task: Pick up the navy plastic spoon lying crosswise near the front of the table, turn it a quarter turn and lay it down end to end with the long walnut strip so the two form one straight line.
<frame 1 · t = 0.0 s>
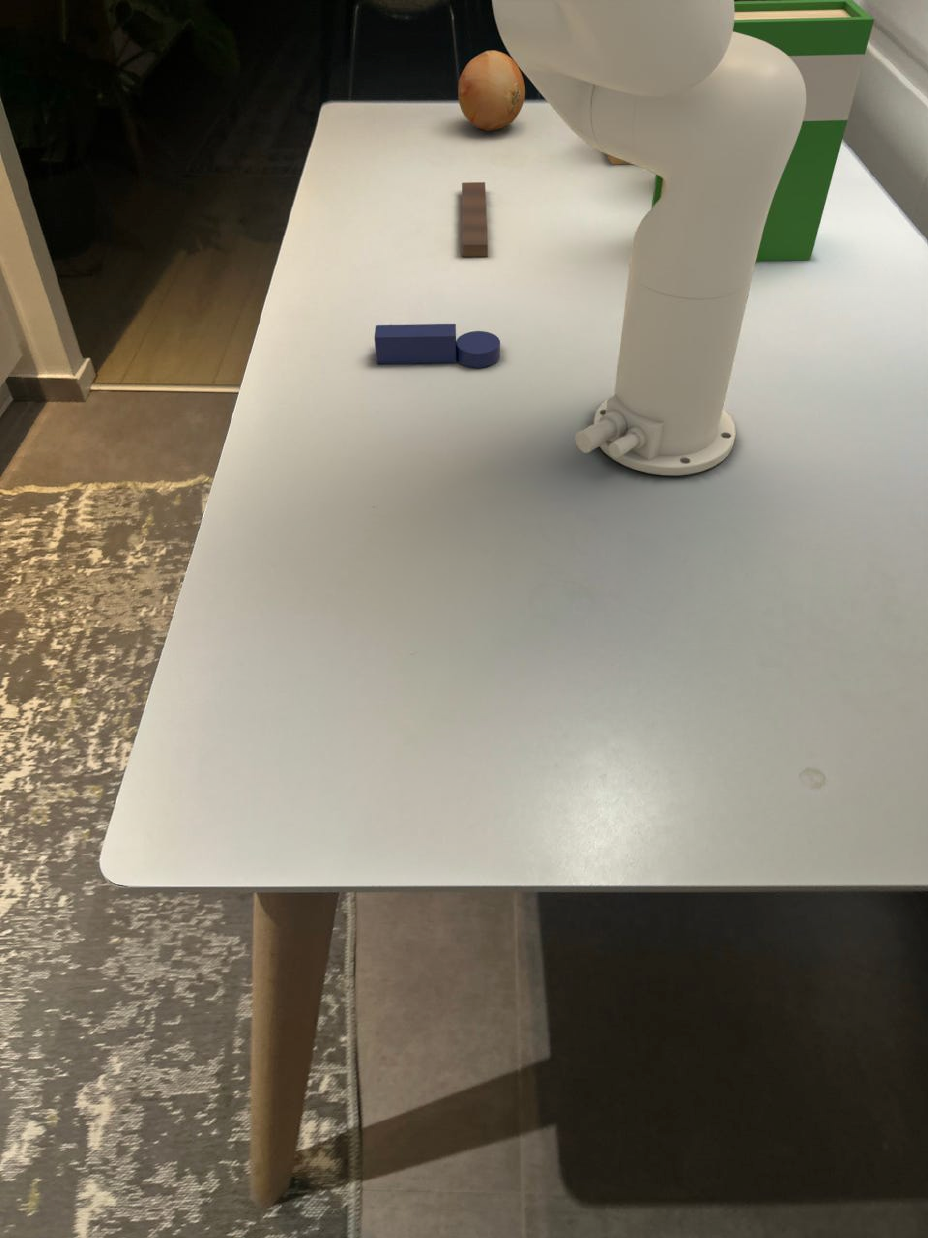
spoon: (436, 356, 93), on the table
walnut strip: (474, 223, 114), on the table
hardback book: (726, 248, 109), on the table
sandwich container: (631, 144, 132), on the table
onion: (491, 129, 137), on the table
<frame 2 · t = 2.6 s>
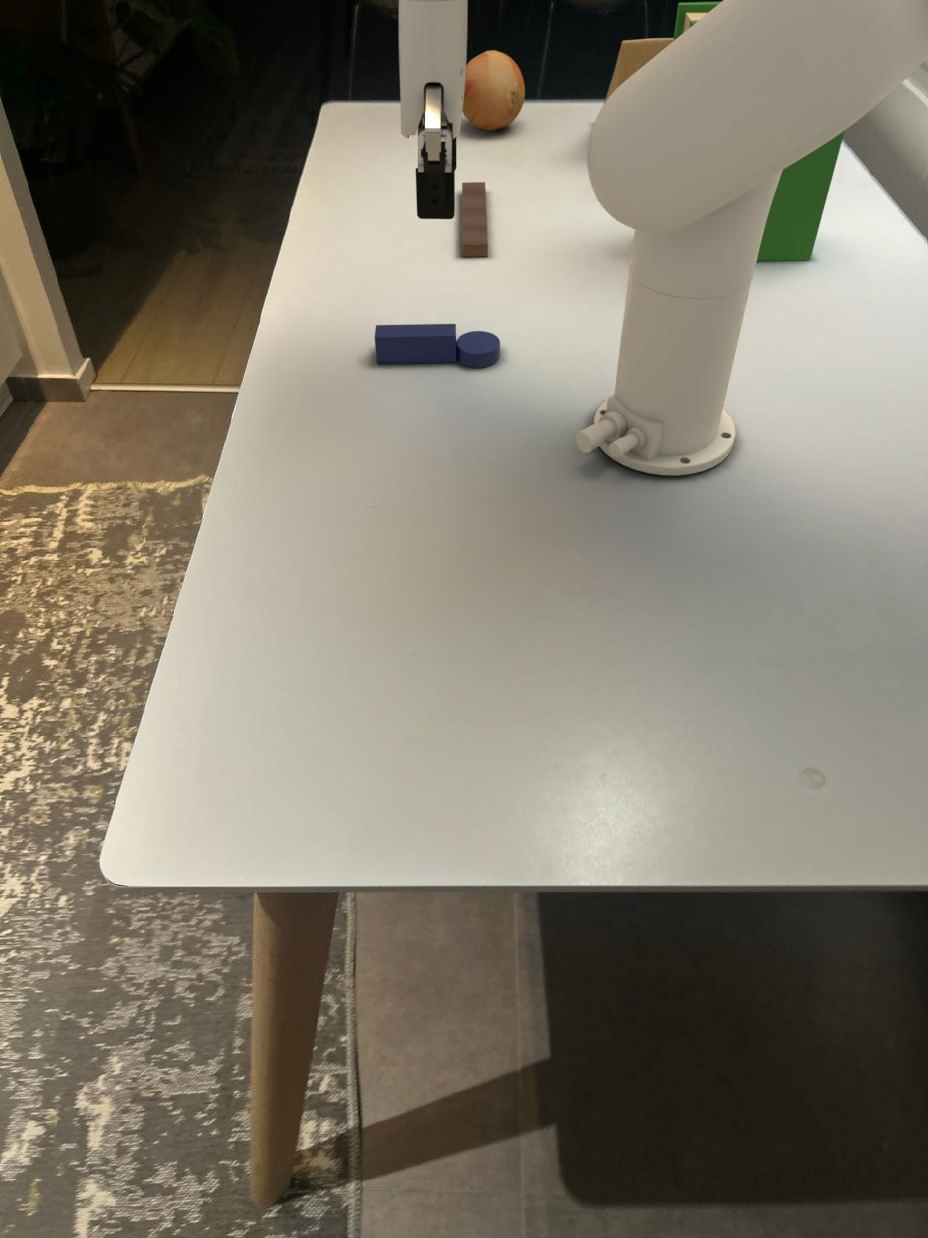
hand: (437, 192, 82), 16 cm above the table, tool pointing down, fingers open, 9 cm apart
nothing on the table moved.
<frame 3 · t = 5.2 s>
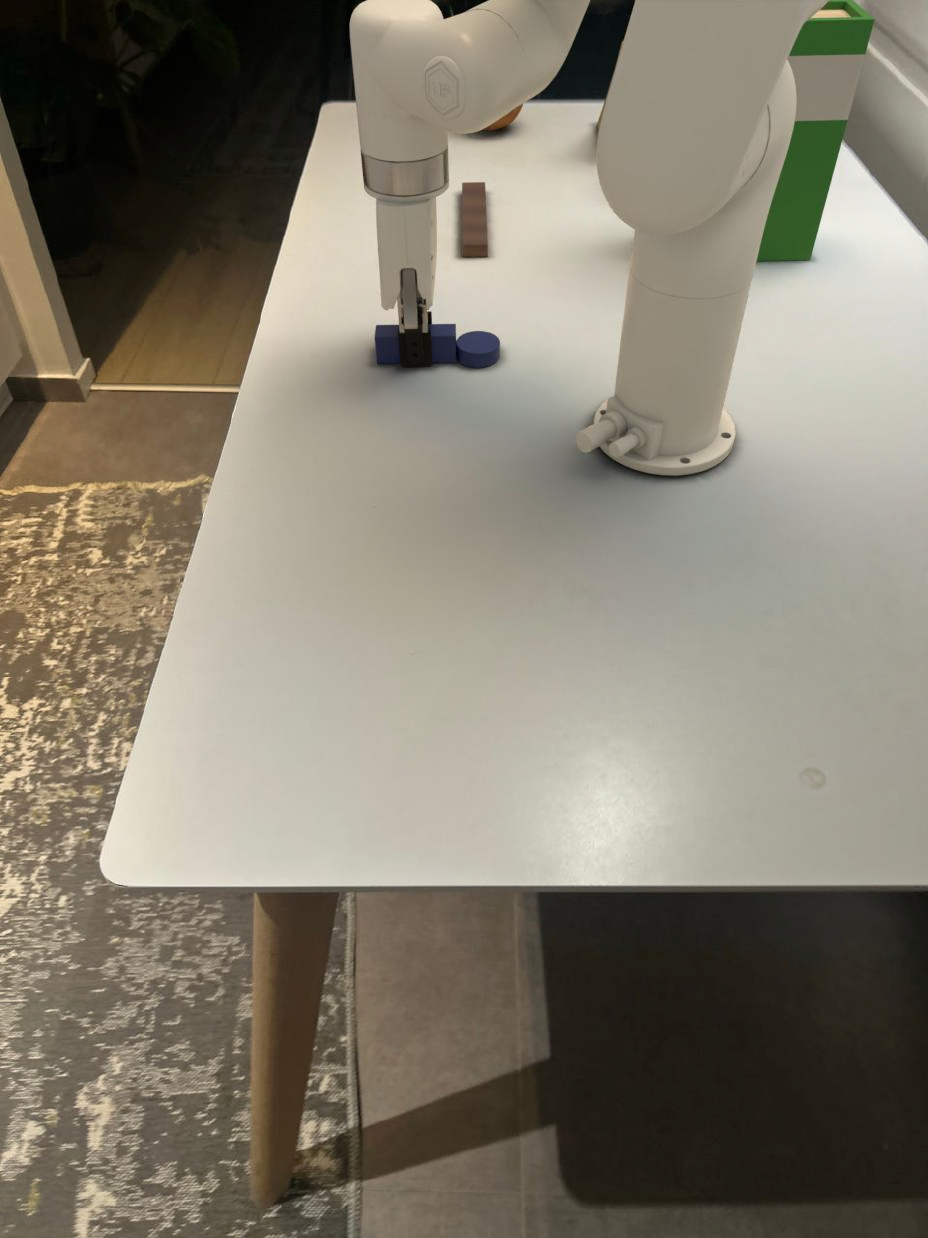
hand: (416, 355, 93), 0 cm above the table, tool pointing down, fingers closed on spoon, 2 cm apart
spoon: (436, 356, 93), on the table, touching gripper
everything else where it was.
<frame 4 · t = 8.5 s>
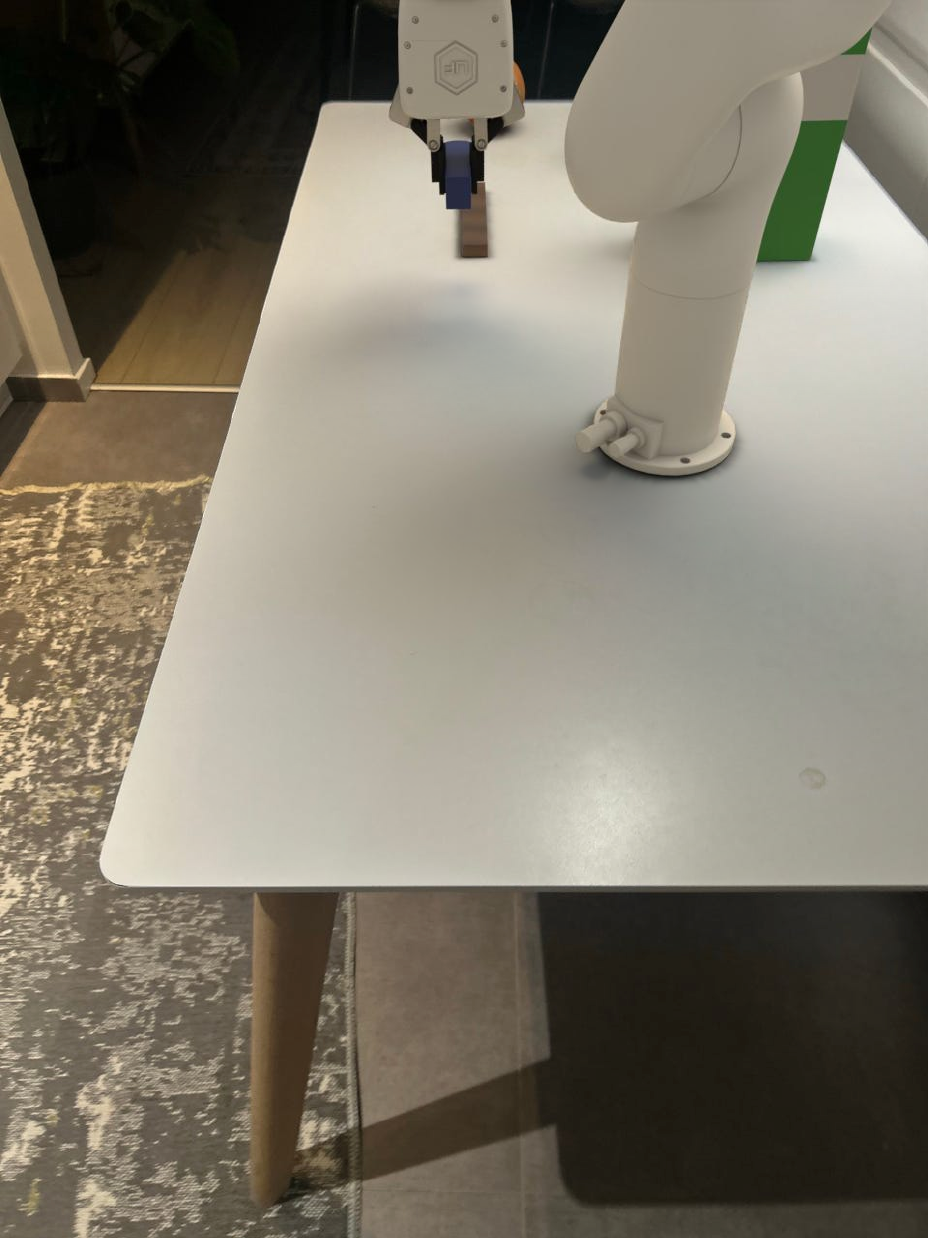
hand: (458, 187, 90), 13 cm above the table, tool pointing down, fingers closed on spoon, 2 cm apart
spoon: (458, 182, 92), point 13 cm above the table, touching gripper
everything else where it was.
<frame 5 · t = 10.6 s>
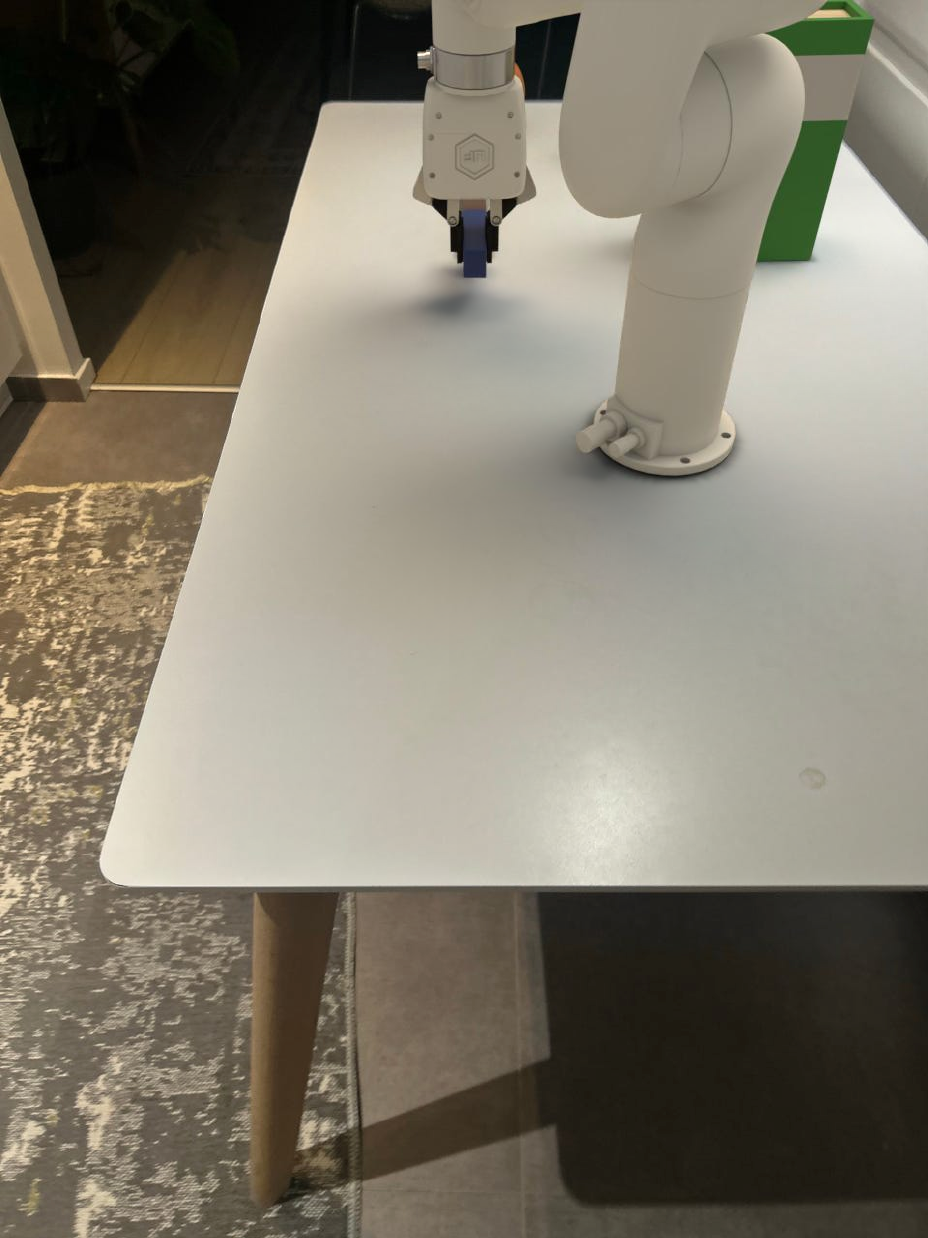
hand: (474, 256, 98), 5 cm above the table, tool pointing down, fingers closed on spoon, 2 cm apart
spoon: (474, 250, 100), point 4 cm above the table, touching gripper
everything else where it was.
when the fingers open (0 cm above the table, at t = 11.8 s): spoon stays where it is, on the table.
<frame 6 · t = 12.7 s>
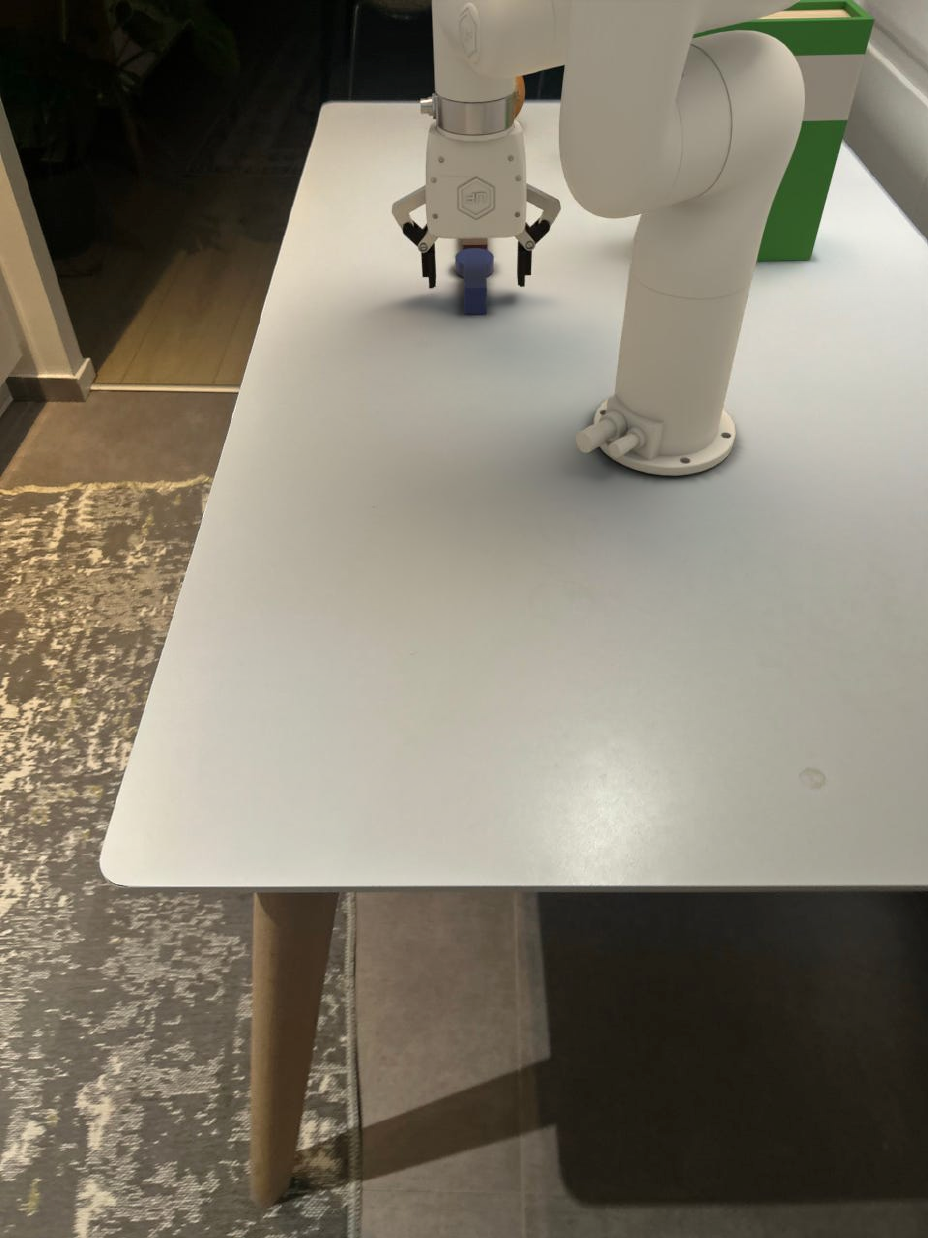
hand: (476, 281, 100), 2 cm above the table, tool pointing down, fingers open, 9 cm apart
spoon: (475, 287, 103), on the table
sandwich container: (631, 144, 132), on the table, touching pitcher
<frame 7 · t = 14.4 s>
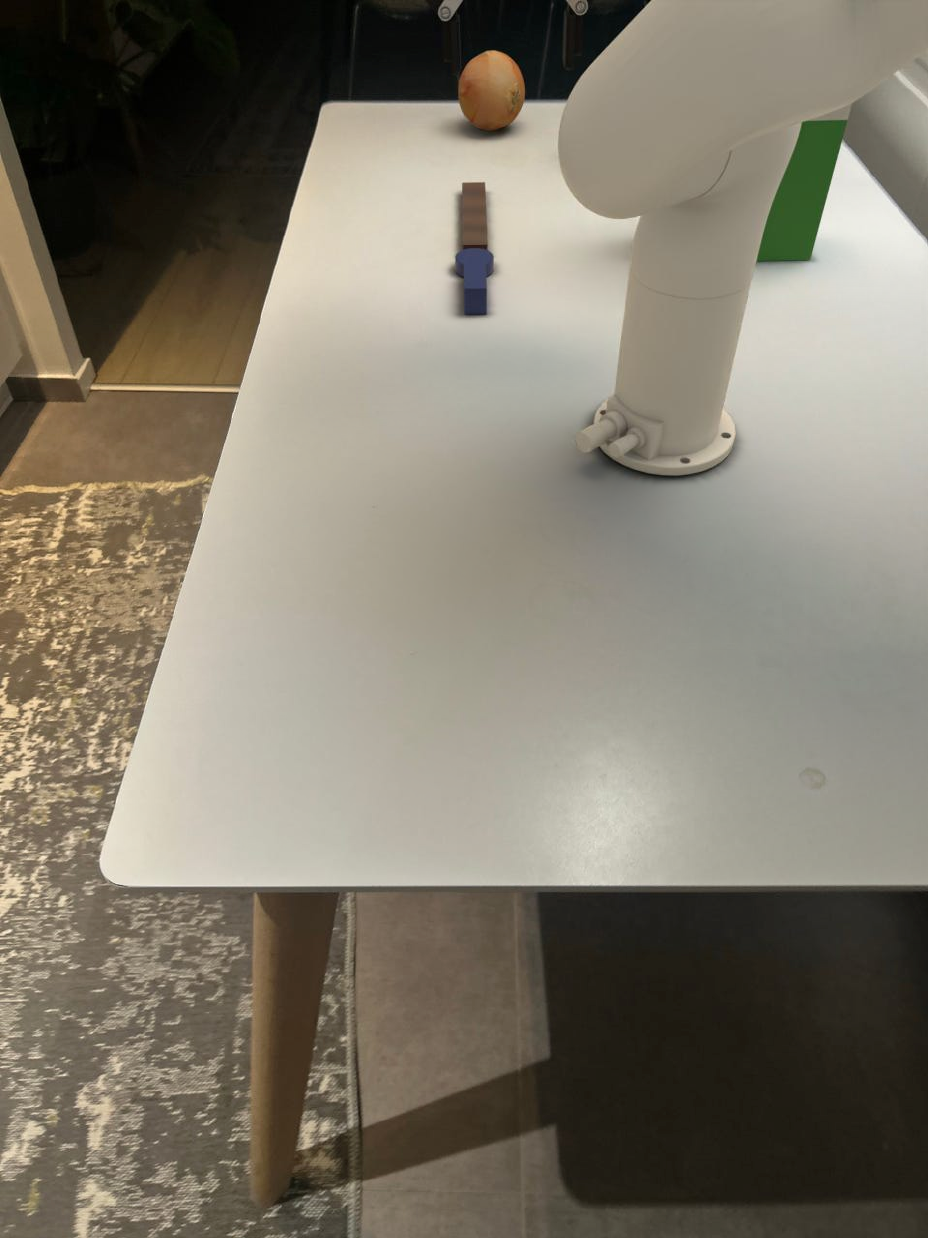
hand: (512, 67, 80), 24 cm above the table, tool pointing down, fingers open, 9 cm apart
sandwich container: (631, 144, 132), on the table
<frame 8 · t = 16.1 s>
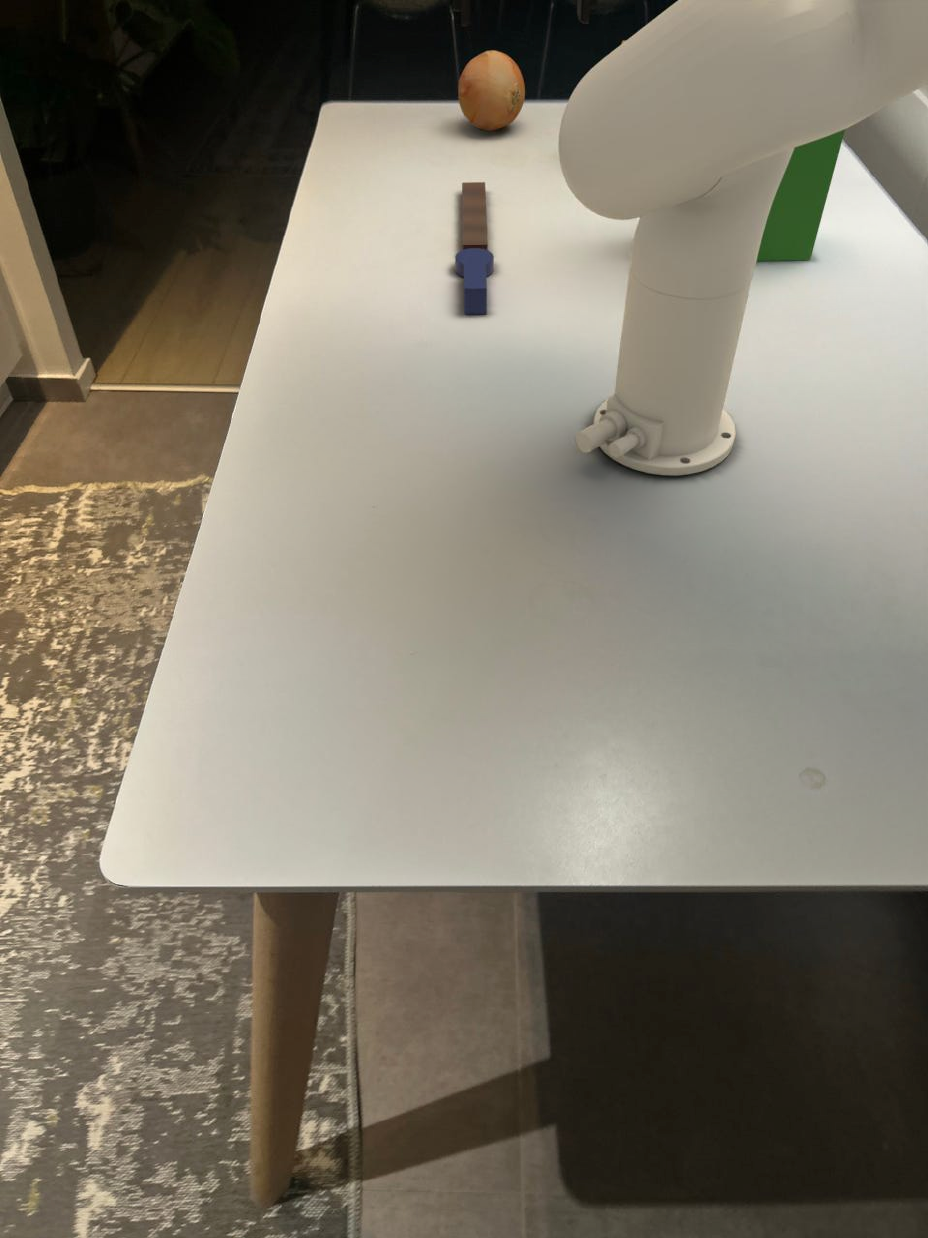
hand: (524, 20, 76), 28 cm above the table, tool pointing down, fingers open, 9 cm apart
sandwich container: (631, 144, 132), on the table, touching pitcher
at the end: spoon 0.3 cm from the target spot on the table beside the walnut strip, on the table; the gripper is holding nothing; spoon moved 15.0 cm from its start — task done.
